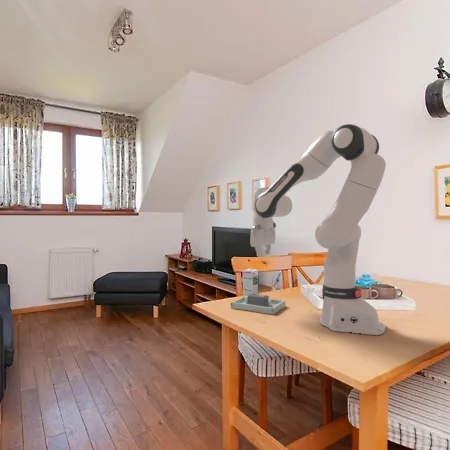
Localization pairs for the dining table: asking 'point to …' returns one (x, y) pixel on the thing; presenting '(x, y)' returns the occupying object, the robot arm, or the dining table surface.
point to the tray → (269, 309)
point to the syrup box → (250, 282)
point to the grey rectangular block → (258, 300)
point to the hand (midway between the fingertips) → (263, 255)
